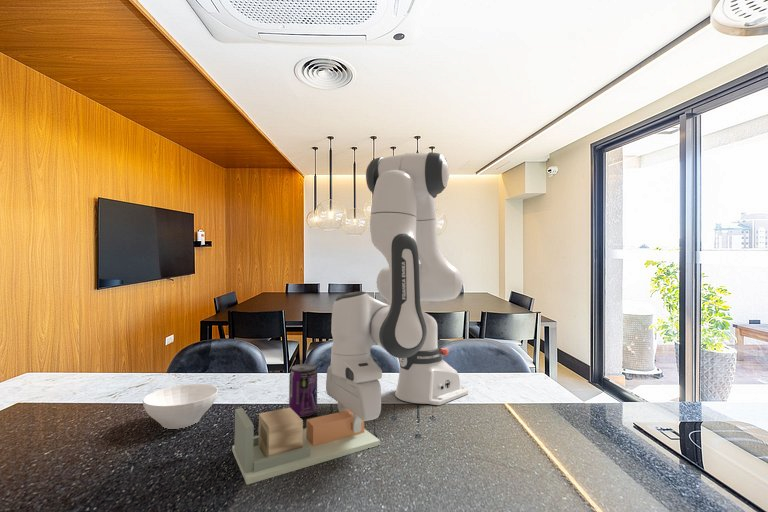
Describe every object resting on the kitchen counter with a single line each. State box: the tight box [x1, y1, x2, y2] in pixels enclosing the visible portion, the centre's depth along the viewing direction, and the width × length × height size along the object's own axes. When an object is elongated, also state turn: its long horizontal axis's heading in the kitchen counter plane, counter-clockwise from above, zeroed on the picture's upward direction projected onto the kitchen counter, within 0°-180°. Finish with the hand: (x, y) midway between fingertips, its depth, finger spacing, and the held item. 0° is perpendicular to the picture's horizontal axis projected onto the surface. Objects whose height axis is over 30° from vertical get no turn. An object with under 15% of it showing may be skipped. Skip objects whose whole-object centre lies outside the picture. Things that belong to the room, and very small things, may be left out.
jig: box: [231, 407, 381, 486], centre depth 75 cm, size 27×14×9 cm, turn 122°
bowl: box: [142, 383, 219, 430], centre depth 88 cm, size 16×16×7 cm
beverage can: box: [288, 363, 318, 418], centre depth 94 cm, size 7×7×12 cm
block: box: [258, 406, 304, 457], centre depth 72 cm, size 6×8×6 cm
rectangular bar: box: [305, 410, 365, 446], centre depth 79 cm, size 12×4×4 cm, turn 122°
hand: (350, 426), depth 81 cm, fingers closed on rectangular bar, 4 cm apart
